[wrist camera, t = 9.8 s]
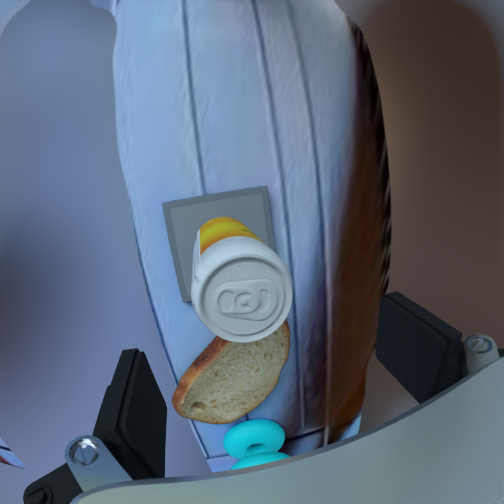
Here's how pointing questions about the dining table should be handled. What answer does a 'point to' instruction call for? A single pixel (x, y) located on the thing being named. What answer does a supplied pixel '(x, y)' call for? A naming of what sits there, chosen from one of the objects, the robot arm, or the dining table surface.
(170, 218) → the slate coaster
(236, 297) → the beer can
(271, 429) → the donuts
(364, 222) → the dining table surface
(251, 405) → the bread slice
